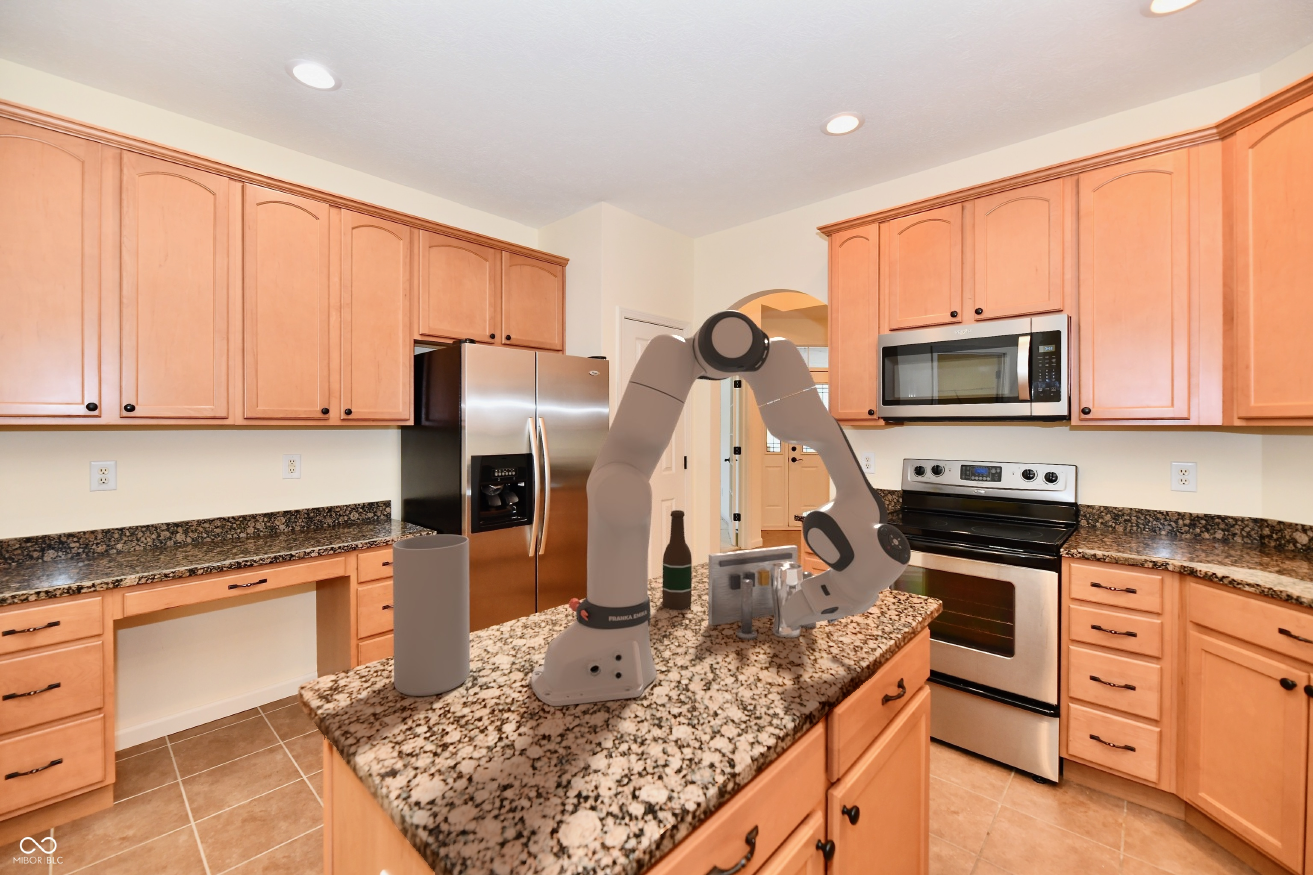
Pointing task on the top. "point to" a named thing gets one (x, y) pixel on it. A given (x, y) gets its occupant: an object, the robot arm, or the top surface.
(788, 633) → the beer glass
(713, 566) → the panel
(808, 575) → the post right
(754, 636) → the post left
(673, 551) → the beer bottle
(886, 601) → the top surface
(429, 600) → the cylinder vase
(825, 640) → the top surface
